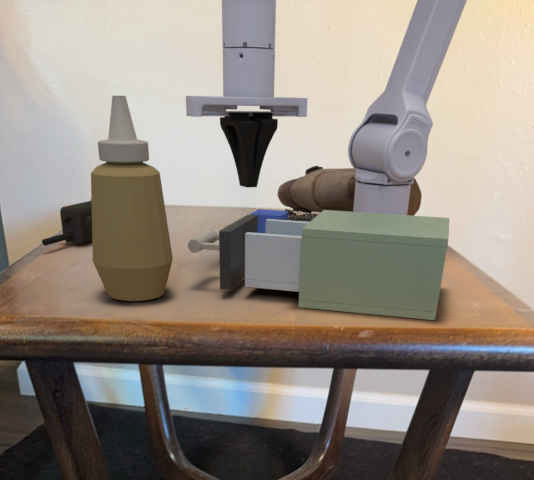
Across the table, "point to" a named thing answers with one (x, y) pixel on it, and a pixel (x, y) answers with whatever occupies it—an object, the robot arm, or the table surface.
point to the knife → (290, 212)
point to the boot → (330, 191)
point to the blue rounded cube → (268, 217)
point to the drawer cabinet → (373, 263)
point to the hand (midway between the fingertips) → (248, 186)
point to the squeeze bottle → (128, 214)
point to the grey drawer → (256, 253)
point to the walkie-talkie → (74, 224)
